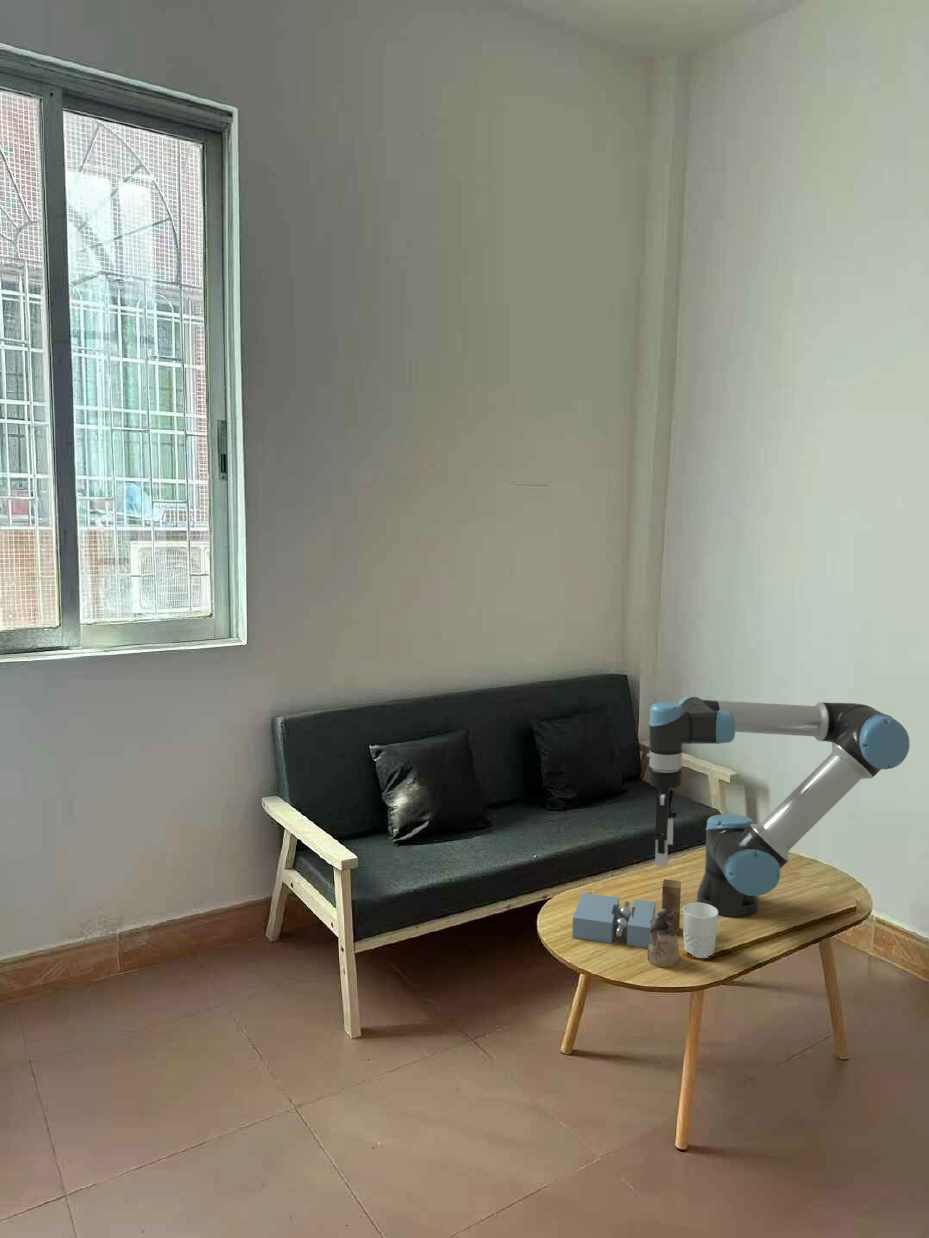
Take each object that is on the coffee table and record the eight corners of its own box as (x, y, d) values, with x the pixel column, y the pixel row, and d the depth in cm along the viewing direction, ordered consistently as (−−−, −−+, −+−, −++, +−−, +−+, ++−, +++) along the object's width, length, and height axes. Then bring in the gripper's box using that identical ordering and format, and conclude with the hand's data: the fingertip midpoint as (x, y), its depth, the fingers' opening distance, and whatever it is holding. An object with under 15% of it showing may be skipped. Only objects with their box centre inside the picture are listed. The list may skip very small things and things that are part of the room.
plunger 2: (628, 928, 212) (628, 916, 212) (625, 941, 206) (625, 928, 206) (615, 926, 213) (616, 914, 213) (612, 939, 207) (612, 927, 207)
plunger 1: (633, 910, 222) (633, 899, 221) (630, 922, 215) (630, 910, 215) (620, 908, 223) (621, 897, 222) (617, 920, 216) (617, 908, 216)
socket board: (654, 921, 219) (655, 901, 219) (649, 948, 206) (650, 927, 205) (582, 911, 224) (582, 892, 224) (572, 937, 211) (572, 917, 210)
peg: (679, 928, 216) (680, 881, 214) (678, 935, 212) (679, 887, 210) (662, 925, 217) (663, 879, 215) (661, 933, 213) (662, 885, 211)
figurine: (656, 948, 206) (658, 899, 204) (684, 958, 201) (686, 908, 200) (640, 960, 200) (642, 910, 199) (669, 971, 196) (670, 919, 194)
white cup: (690, 939, 210) (691, 899, 209) (722, 949, 205) (724, 908, 204) (675, 952, 204) (676, 911, 203) (707, 963, 199) (709, 921, 198)
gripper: (655, 752, 223) (654, 833, 226) (642, 782, 199) (641, 873, 202) (685, 754, 221) (684, 836, 223) (677, 785, 197) (675, 876, 200)
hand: (664, 854), depth 213 cm, fingers open, 13 cm apart
